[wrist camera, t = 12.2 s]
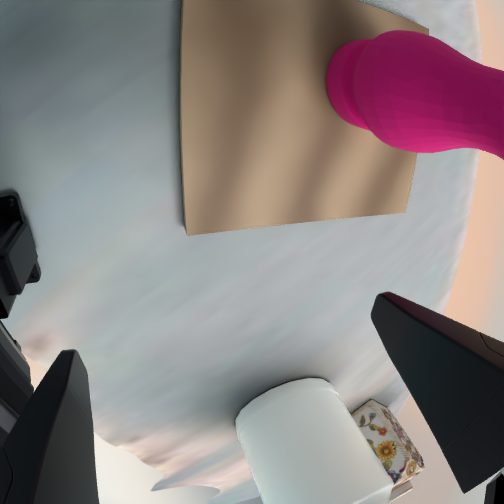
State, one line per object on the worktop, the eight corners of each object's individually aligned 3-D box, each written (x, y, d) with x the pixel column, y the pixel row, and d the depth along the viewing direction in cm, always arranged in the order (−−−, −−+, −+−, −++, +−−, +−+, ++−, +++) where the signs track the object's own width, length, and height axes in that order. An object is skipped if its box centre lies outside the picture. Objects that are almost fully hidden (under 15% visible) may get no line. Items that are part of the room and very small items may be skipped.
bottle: (214, 410, 32) (303, 627, 10) (324, 358, 33) (452, 560, 11) (253, 443, 41) (324, 597, 18) (337, 403, 42) (426, 550, 19)
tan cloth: (184, 227, 20) (187, 235, 19) (183, -20, 12) (185, -26, 11) (396, 207, 25) (405, 212, 24) (418, 29, 17) (428, 29, 16)
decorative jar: (388, 407, 52) (434, 474, 37) (342, 440, 53) (381, 508, 39) (371, 397, 45) (426, 479, 30) (316, 435, 47) (361, 518, 32)
